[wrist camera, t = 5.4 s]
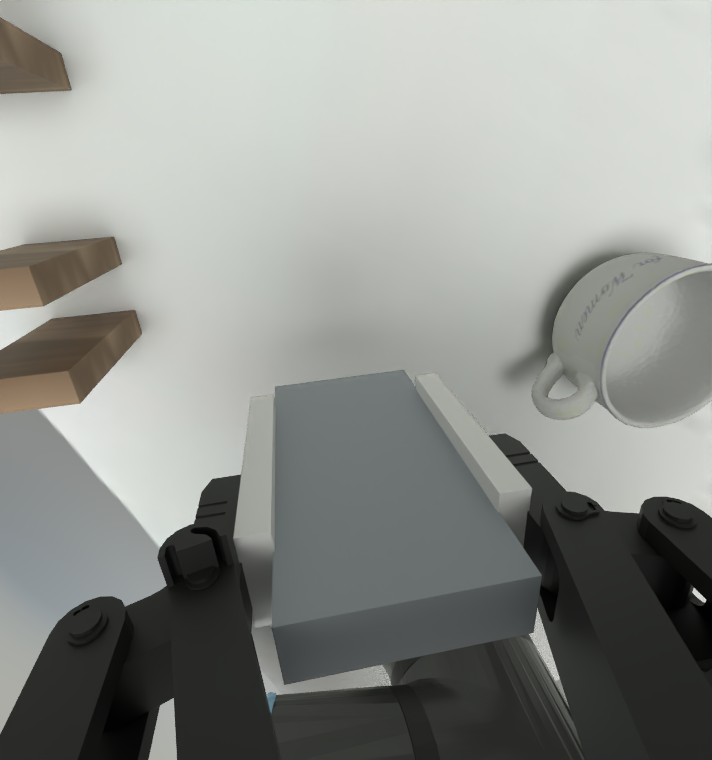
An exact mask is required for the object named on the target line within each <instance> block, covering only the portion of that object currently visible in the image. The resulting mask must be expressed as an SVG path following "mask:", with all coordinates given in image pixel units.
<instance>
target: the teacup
mask: <svg viewBox="0 0 712 760" xmlns="http://www.w3.org/2000/svg"><path fill="white" fill-rule="evenodd" d="M552 346H553V353H552V354H551V355H550V356H549V357H548V359H547V365H546V366H545V368H544V369H543V370H542V372H541V373H540V374H539V376H538V377H537V379H536V381H535V383H534V385H533V387H532V399H533V402H534V404H535V406H536V408H537V409H538V410H539V412H540V413H541V414H543V415H545V416H547V417H549V418H552V419H557V420H566V419H572V418H575V417H578V416H580V415H582V414H583V413H585V412H586V411H587V410H588V409H589V408H590V407H591V406H592V404H593V403H594V401H596V402H597V403H599V404H600V405H602V406H603V407H604V408H606V409H607V410H608V411H609V412H610V413H611V414H612V415H613V416H614V417H615V418H616V419H618V420H619V421H621V422H623V423H624V424H626V425H630V426H633V427H638V428H653V427H660V426H664V425H667V424H671V423H675V422H677V421H679V420H682V419H684V418H686V417H688V416H690V415H692V414H693V413H695V412H697V411H698V410H700V409H701V408H702V407H704V406H705V405H706V404H708V403H709V402H710V401H711V400H712V264H708V263H703V262H699V261H695V260H690V259H685V258H680V257H676V256H670V255H664V254H655V253H634V254H628V255H623V256H620V257H617V258H614V259H611V260H609V261H607V262H605V263H603V264H601V265H599V266H597V267H596V268H594V269H593V270H591V271H590V272H589V273H587V274H586V275H585V276H584V277H583V278H582V279H580V280H579V281H578V282H577V284H576V285H575V286H574V287H573V288H572V289H571V291H570V292H569V293H568V295H567V296H566V298H565V299H564V301H563V303H562V304H561V306H560V308H559V311H558V313H557V316H556V319H555V322H554V327H553V333H552ZM562 375H565V376H566V377H567V378H568V379H569V380H570V381H571V382H572V383H573V384H574V385H575V386H577V387H578V388H579V389H578V391H577V392H576V393H575V394H573V395H572V396H570V397H567V398H565V399H559V400H557V399H550V398H548V393H549V391H550V389H551V388H552V386H553V385H554V384H555V382H556V381H557V380H558V379H559V378H560V377H561V376H562Z"/></svg>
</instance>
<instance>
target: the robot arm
mask: <svg viewBox="0 0 712 760" xmlns="http://www.w3.org/2000/svg"><path fill="white" fill-rule="evenodd" d="M415 388H416V391H417V392H418V394H419V395H420V397H421V398H422V400H423V401H424V403H425V404H426V406H427V407H428V409H429V410H430V412H431V413H432V415H433V416H434V418H435V419H436V421H437V422H438V424H439V425H440V427H441V428H442V430H443V431H444V433H445V434H446V436H447V437H448V439H449V440H450V441H451V443H452V444H453V446H454V447H455V449H456V450H457V452H458V453H459V455H460V456H461V458H462V459H463V461H464V462H465V464H466V465H467V467H468V468H469V470H470V471H471V473H472V474H473V476H474V477H475V479H476V480H477V482H478V483H479V485H480V486H481V488H482V489H483V491H484V492H485V494H486V495H487V497H488V498H489V500H490V501H491V503H492V504H493V506H494V507H495V509H496V510H497V512H498V513H499V512H500V514H501V515H502V517H503V518H504V520H505V521H506V523H507V524H508V526H509V527H510V529H511V530H512V532H513V533H514V535H515V536H516V538H517V539H518V541H519V542H520V544H521V545H522V547H523V548H524V550H525V551H526V553H527V554H528V555H529V557H530V558H531V560H532V561H533V563H534V564H535V566H536V567H537V569H538V570H539V572H540V573H541V575H542V579H541V585H540V592H539V599H538V605H537V607H538V610H539V614H540V617H541V620H542V623H543V626H544V629H545V633H546V636H547V639H548V642H549V645H550V648H551V652H552V655H553V658H554V661H555V664H556V667H557V670H558V674H559V677H560V680H561V683H562V686H563V689H564V693H565V695H566V698H567V702H568V703H567V702H566V700H565V698H564V696H563V694H562V693H561V691H560V689H559V687H558V686H557V684H556V682H555V680H554V678H553V677H552V675H551V673H550V671H549V669H548V668H547V666H546V664H545V662H544V660H543V659H542V657H541V655H540V653H539V651H538V650H537V648H536V646H535V645H534V643H533V641H532V639H531V637H530V636H529V634H525V635H520V636H515V637H510V638H506V639H501V640H496V641H491V642H487V643H482V644H477V645H472V646H467V647H463V648H458V649H453V650H448V651H443V652H439V653H434V654H429V655H424V656H420V657H415V658H410V659H405V660H400V661H396V662H391V663H386V664H382V665H383V667H384V668H385V670H386V672H387V674H388V675H389V678H390V681H391V685H392V686H378V687H366V688H354V689H342V690H331V691H319V692H307V693H295V694H284V695H276V693H268V694H267V695H266V692H265V688H264V683H263V679H262V675H261V671H260V666H259V662H258V658H257V654H256V650H255V646H254V642H253V638H252V634H251V629H252V617H253V621H254V625H255V628H260V627H265V626H270V625H272V571H273V552H275V430H276V407H275V401H274V395H265V396H257V397H251V400H250V408H249V416H248V424H247V433H246V441H245V449H244V457H243V465H242V473H241V475H236V476H229V477H223V478H216V479H212V480H211V481H210V483H209V484H208V485H207V486H206V487H205V489H204V490H203V491H202V493H201V497H200V501H199V508H198V510H197V514H196V520H195V522H194V524H192V525H189V526H187V527H184V528H182V529H180V530H178V531H176V532H175V533H174V534H173V535H171V536H170V537H169V538H167V539H166V541H165V542H164V543H163V545H162V546H161V547H160V550H159V554H158V561H159V564H160V567H161V570H162V572H163V575H164V578H165V581H166V584H167V586H166V587H164V588H163V589H162V590H160V591H158V592H157V593H155V594H153V595H151V596H149V597H147V598H144V599H142V600H140V601H137V602H135V603H133V604H130V605H128V606H126V607H125V606H124V604H123V602H122V600H120V599H117V598H115V597H98V598H95V599H92V600H89V601H86V602H84V603H82V604H80V605H79V606H77V607H75V608H74V609H72V610H71V611H69V612H68V613H67V614H66V615H65V616H64V617H63V618H62V619H61V620H59V621H58V623H57V624H56V626H55V627H54V629H53V630H52V632H51V633H50V635H49V637H48V639H47V641H46V643H45V645H44V647H43V649H42V651H41V653H40V655H39V657H38V659H37V661H36V663H35V665H34V667H33V669H32V671H31V673H30V675H29V677H28V679H27V681H26V683H25V685H24V687H23V689H22V691H21V694H20V696H19V697H18V700H17V701H16V704H15V706H14V708H13V710H12V712H11V714H10V716H9V718H8V720H7V722H6V724H5V726H4V728H3V730H2V732H1V734H0V760H148V758H149V754H150V749H151V744H152V739H153V735H154V730H155V726H156V721H157V716H158V712H159V707H160V705H161V704H163V703H165V702H167V701H169V700H170V699H172V698H174V708H175V727H176V744H177V745H176V746H177V760H712V518H711V517H710V516H709V515H707V514H706V513H705V512H704V511H702V510H700V509H699V508H697V507H695V506H694V505H692V504H690V503H687V502H684V501H682V500H679V499H675V498H669V497H652V498H650V499H647V500H645V501H644V503H643V504H642V506H641V509H640V513H639V514H637V513H622V512H610V511H604V510H603V508H602V507H601V506H600V505H599V504H598V503H597V502H595V501H594V500H592V499H590V498H589V497H587V496H584V495H581V494H578V493H576V492H567V491H566V490H565V489H564V488H563V487H562V486H561V485H560V484H559V483H558V482H557V481H556V479H555V478H554V477H553V476H552V475H551V474H550V473H549V472H548V471H547V470H546V469H545V468H544V467H543V466H542V465H541V463H538V460H537V459H536V458H535V457H534V456H533V455H532V454H530V452H529V451H528V450H527V449H526V447H525V446H524V445H523V444H522V443H521V442H520V441H518V440H516V439H514V438H512V437H511V436H509V435H507V434H505V433H504V434H498V435H491V436H488V435H487V434H486V432H485V431H484V430H483V429H482V428H481V426H480V425H479V424H478V423H477V422H476V420H475V419H474V418H473V417H472V416H471V414H470V413H469V412H468V411H467V410H466V408H465V407H464V406H463V405H462V404H461V402H460V401H459V400H458V399H457V398H456V396H455V395H454V394H453V393H452V392H451V390H450V389H449V388H448V387H447V386H446V384H445V383H444V382H443V381H442V380H441V378H440V377H439V376H438V375H437V374H436V373H432V374H424V375H416V376H415ZM693 588H695V589H696V590H697V591H698V592H699V593H700V594H701V595H702V596H703V597H704V598H705V599H706V603H704V602H702V601H701V600H699V599H698V598H697V597H696V596H695V595H694V594H693V593H692V591H693Z"/></svg>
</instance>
